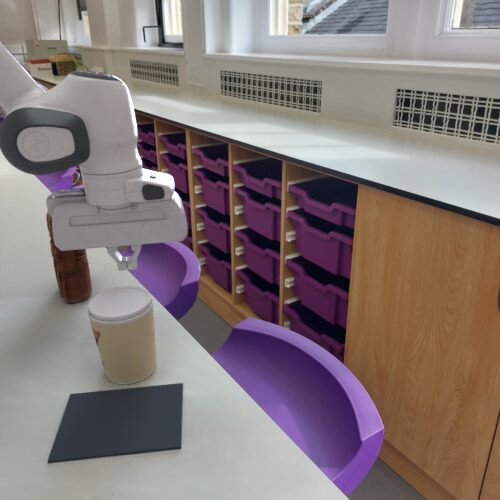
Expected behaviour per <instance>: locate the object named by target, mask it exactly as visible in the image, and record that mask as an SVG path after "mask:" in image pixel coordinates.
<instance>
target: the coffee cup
mask: <svg viewBox="0 0 500 500" xmlns="http://www.w3.org/2000/svg"><path fill="white" fill-rule="evenodd" d="M154 304H155V303H154V298H153V296H152V294H151V293H150V292H149V291H148V290H147V289H146V288H143V287H141V286H140V287H139V286H133V285H122V286H116V287H111V288H108V289H106V290H103V291H101V292H99V293H97V294H96V295H94V296H93V297H92V298H91V299H90V300H89V302H88V306H87V308H86V314H87V317H88V319H89V322H90V326H91V329H92V333H93V336H94V340H95V344H96V347H97V350H98V354H99V357H100V360H101V361H100V362H101V364H102V367H103V370H104V373H105V376H106V378H107V379H108V381H110V382H112V383H114V384H118V385H132V384H136V383H139V382H142V381H145V380H146V379H147V378H148V377H150V376H151V375H152V374H153V373H154V372H155V370H156V367H157V348H156V346H157V345H156V329H155V316H154V315H155V314H154Z"/></svg>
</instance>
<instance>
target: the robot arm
mask: <svg viewBox="0 0 500 500" xmlns="http://www.w3.org/2000/svg"><path fill="white" fill-rule="evenodd" d="M0 106H1V108H2V109H3V110H4V113H5V114H6V115H5V116H4V117H3V119H2V121H1V123H0V151H1V154H2V155H3V157H4V158H5V160H6V161H7V162H8V163H9V164H10V165H11V166H12V167H14V168H15V169H17V170H18V171H20V172H22V173H25V174H28V175H33V176H46V175H51V174H55V173H59V172H62V171H65V170H69V169H72V168H75V167H77V166H78V167H79V170H80V175H81V181H82V185H83V187H79V188H71V189H56V190H54V191H53V192H52V193H50V194H49V195H48V196H47V198H46V199H45V205H46V209H47V212H48V213H49V215H50V216H51V217H52V229H53V238H54V243H55V246H56V247H58V248H59V249H60V250H62V251H66V250H78V249H86V250H88V249H89V250H90V249H101V248H102V249H103V248H106V250H107V254H108V255H109V256H110V257H111V258H112V259H113V261H115V262H116V265H117V270H118V272H122V271H123V272H124V271H133V270H134V271H135V270H138V267H139V263H138V257H139V255H140V253H141V251H142V248H143V247H142V246H143V245H151V244H152V245H153V244H164V243H176V242H184V241H185V239H187V237H188V234H189V230H188V220H187V215H186V211H185V206H184V204H183V200H182V197H180V195H179V193H177V191H175V188H176V184H175V179H174V177H173V176H172V175H171V174H168V173H164V172H161V171H160V172H159V171H156V170H151V169H148V168H144V167H143V160H142V158H141V156H140V154H139V149H138V138H139V131H138V123H137V118H136V111H135V108H134V102H133V99H132V95H131V92H130V89H129V87H128V85H127V84H126V83H125V82H124V81H123V80H122V79H120V77H118V76H116V75H114V74H111V73H106V72H101V71H94V70H73V71H71V72H69V73H68V74H67V76H65V78H63V80H61V81H60V82H59V83H57V84H55V86H53V87H52V88H50V89H49V88H47V87H45V86H44V85H42V84H41V83H40V82H38V81H37V80H36V79H35V78H34V76H33V75H31V73H29V71H27V69H26V68H25V67H24V66H23V65H22V64H21V63H20V61H19V60H18V59H17V58H16V57H15V55H13V53H12V52H11V51H10V49H8V48H7V47H6V46H5V44H4V43H3V42H2V41H1V40H0ZM126 246H127V247H128V246H130V249H131V251H132V252H133V253H132V255H129V256H122V254H121V253H120V252H119V250H118V249H119V247H126Z"/></svg>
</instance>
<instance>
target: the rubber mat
mask: <svg viewBox="0 0 500 500" xmlns="http://www.w3.org/2000/svg"><path fill="white" fill-rule="evenodd" d="M183 393H184V382H180V383H179V382H178V383H177V382H176V383H169V384H158V385H148V386H138V387H137V386H136V387H128V388H126V387H125V388H117V389H116V388H115V389H106V390H96V391H88V392H87V391H85V392H76V393H70V394H69V396H68V399H67V403H66V405H65V408H64V412H63V415H62V417H61V421H60V424H59V426H58V430H57V432H56V435H55V438H54V441H53V444H52V447H51V449H50V453H49V456H48V459H47V463H48V464H52V463H60V462H68V461H79V460H87V459H96V458H106V457H117V456H125V455H134V454H135V455H136V454H144V453H152V452H160V451H161V452H162V451H171V450H179V449H182V431H183V429H182V428H183V427H182V426H183V399H184V398H183V397H184V395H183Z"/></svg>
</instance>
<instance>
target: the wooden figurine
mask: <svg viewBox="0 0 500 500" xmlns="http://www.w3.org/2000/svg"><path fill="white" fill-rule="evenodd" d="M45 216H46V218H45V219H46V228H47V230H48V236H49V237H50V238H49V239H50V240H49V245H50V252H51V258H52V261H53V262H52V263H53V269H54V272H55V273H54V274H55V278H56V283H57V289H58V290H59V292H60V297H61V299H63V301H64V302H65V303H66V304H74V303H75V304H76V303H79V302H83V301H85V300H87V299H89V298H90V297H91V295H92V293H93V285H92V277H91V271H90V269H91V268H90V265H89V264H90V263H89V260H88V259H89V258H88V253H87V249H78V250H66V251H62V250H60V249H59V248H58V247H56V246H55V243H54V238H53V229H52V217H51V216H50V215H49V213H48V211H47V212H46V215H45Z"/></svg>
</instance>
